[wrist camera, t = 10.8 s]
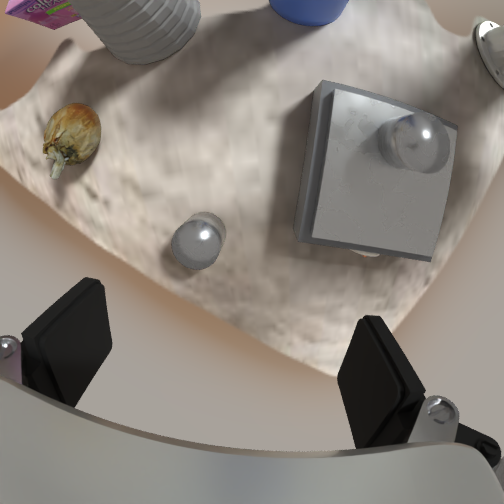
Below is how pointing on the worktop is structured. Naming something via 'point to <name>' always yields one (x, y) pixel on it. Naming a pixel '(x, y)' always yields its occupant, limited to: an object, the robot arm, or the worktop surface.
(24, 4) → the box
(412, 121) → the cylinder
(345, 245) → the base
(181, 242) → the cylinder
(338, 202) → the pan
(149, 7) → the soap bottle
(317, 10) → the blue bottle
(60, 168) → the onion
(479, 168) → the worktop surface
